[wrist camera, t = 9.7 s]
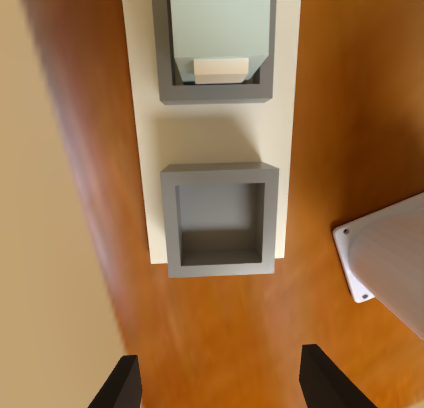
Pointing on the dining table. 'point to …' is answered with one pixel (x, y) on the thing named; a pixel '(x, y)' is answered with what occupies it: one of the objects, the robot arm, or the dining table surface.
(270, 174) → the board with square sockets
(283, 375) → the dining table surface
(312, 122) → the dining table surface
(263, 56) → the plug
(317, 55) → the dining table surface
